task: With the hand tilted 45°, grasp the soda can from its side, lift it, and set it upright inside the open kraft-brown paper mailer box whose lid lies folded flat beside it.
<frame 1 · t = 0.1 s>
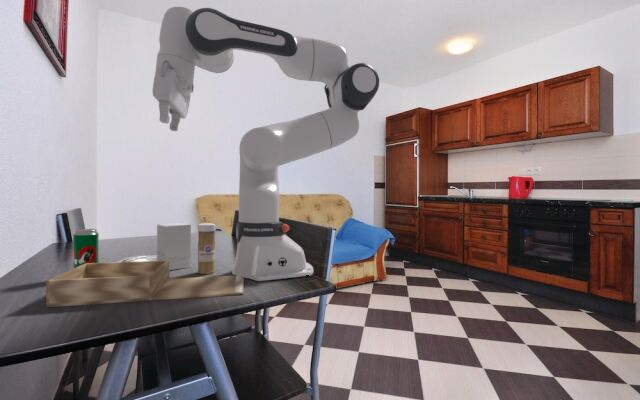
hand: (169, 126, 76), 39 cm above the table, tool pointing down, fingers open, 8 cm apart
sprinkles bottle: (206, 273, 81), on the table
soda can: (86, 277, 75), on the table
supplement box: (173, 267, 87), on the table
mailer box: (116, 291, 65), on the table
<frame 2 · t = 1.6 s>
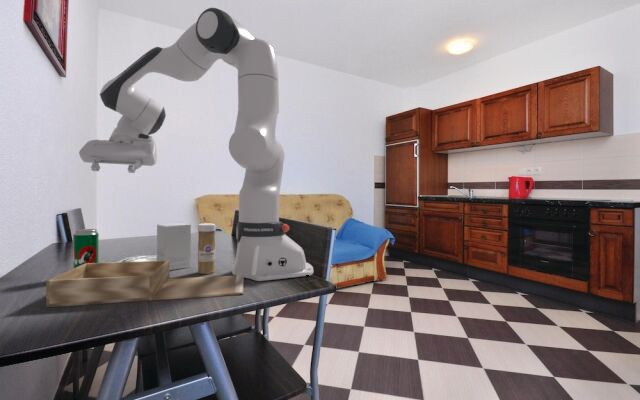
hand: (112, 170, 87), 28 cm above the table, tool tilted 45°, fingers open, 8 cm apart
nothing on the table moved.
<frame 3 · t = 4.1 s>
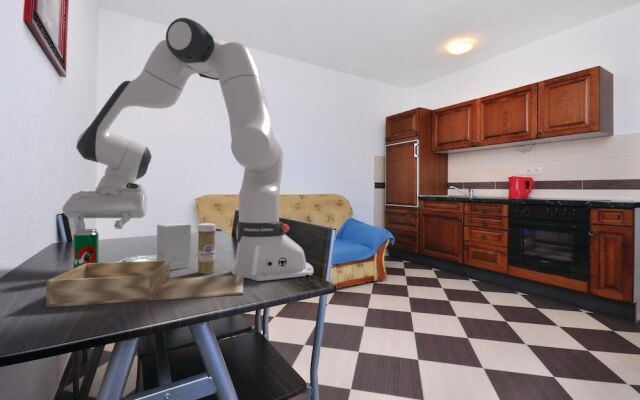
hand: (98, 227, 81), 12 cm above the table, tool tilted 45°, fingers open, 8 cm apart
nothing on the table moved.
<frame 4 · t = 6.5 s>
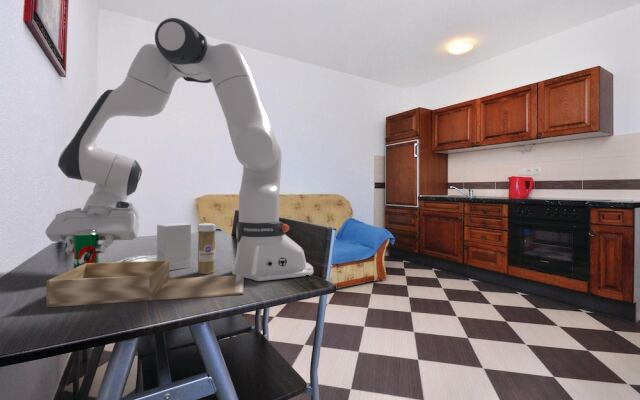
hand: (84, 252, 74), 6 cm above the table, tool tilted 45°, fingers closed on soda can, 5 cm apart
soda can: (86, 277, 75), on the table, touching gripper
everything else where it was.
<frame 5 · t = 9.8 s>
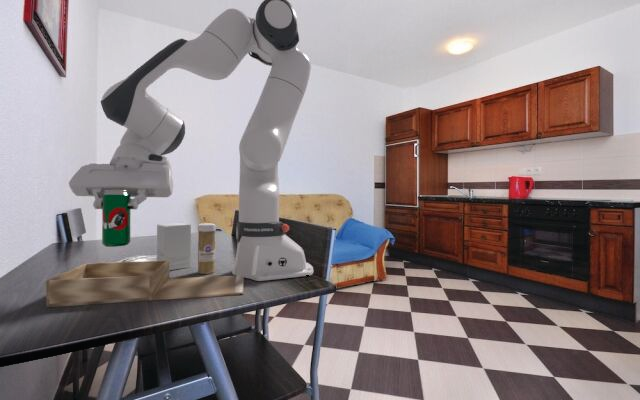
hand: (115, 207, 64), 19 cm above the table, tool tilted 45°, fingers closed on soda can, 5 cm apart
soda can: (116, 246, 64), point 10 cm above the table, touching gripper
everything else where it was.
when the fingers open (9 cm above the table, at t = 12.4 s): soda can stays where it is, resting on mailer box.
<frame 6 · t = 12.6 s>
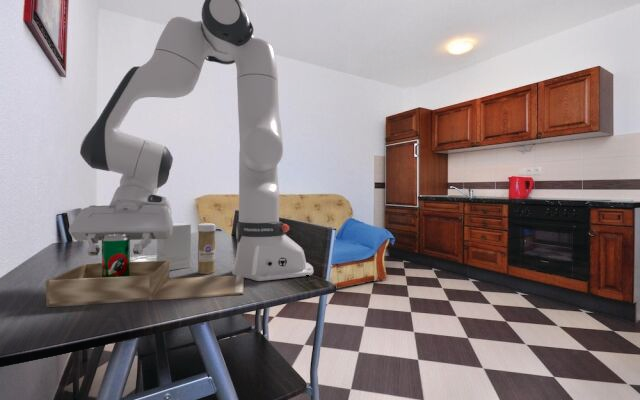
hand: (115, 253, 64), 9 cm above the table, tool tilted 45°, fingers open, 7 cm apart
soda can: (116, 290, 64), resting on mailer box
everything else where it was.
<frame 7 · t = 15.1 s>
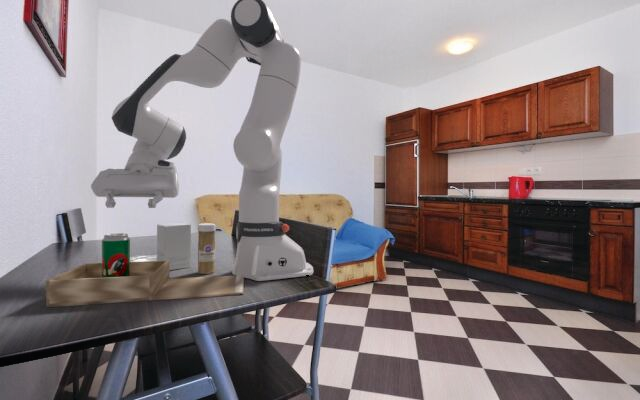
hand: (130, 206, 75), 18 cm above the table, tool tilted 45°, fingers open, 8 cm apart
nothing on the table moved.
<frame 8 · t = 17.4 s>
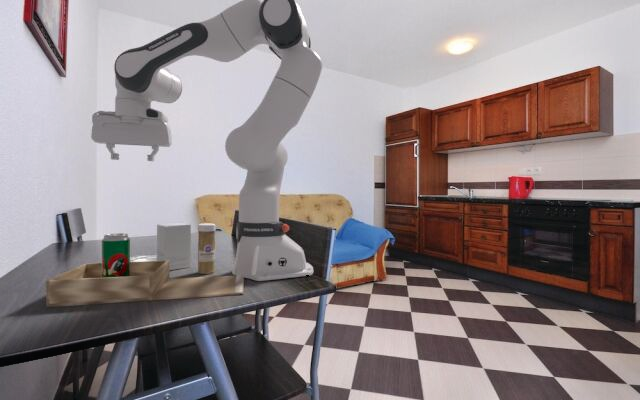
hand: (133, 160, 87), 31 cm above the table, tool pointing down, fingers open, 8 cm apart
nothing on the table moved.
at the end: soda can inside the target area on the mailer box (0.2 cm from its centre), point 0.4 cm above the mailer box's base; soda can tilted 0°; the gripper is holding nothing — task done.
